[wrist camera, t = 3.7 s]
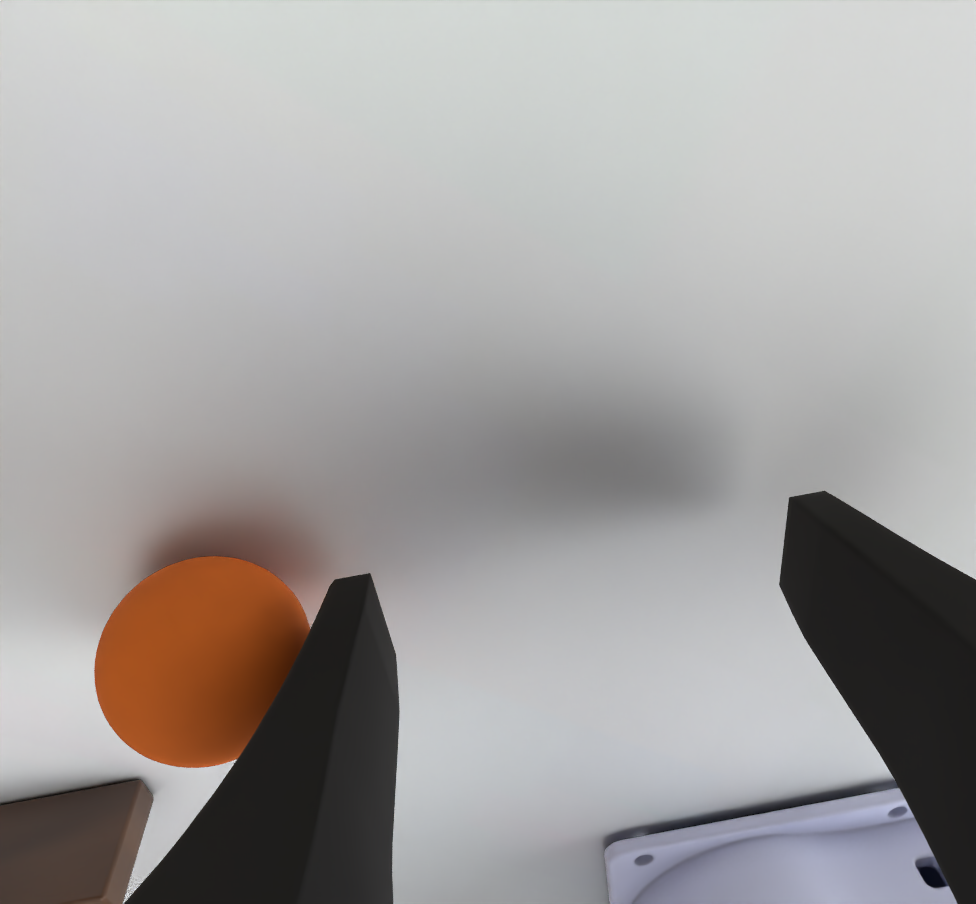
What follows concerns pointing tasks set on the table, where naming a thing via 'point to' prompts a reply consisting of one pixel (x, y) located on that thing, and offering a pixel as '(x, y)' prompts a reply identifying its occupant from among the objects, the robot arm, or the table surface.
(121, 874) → the brown u-shaped wall
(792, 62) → the table surface
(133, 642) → the ball
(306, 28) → the table surface
